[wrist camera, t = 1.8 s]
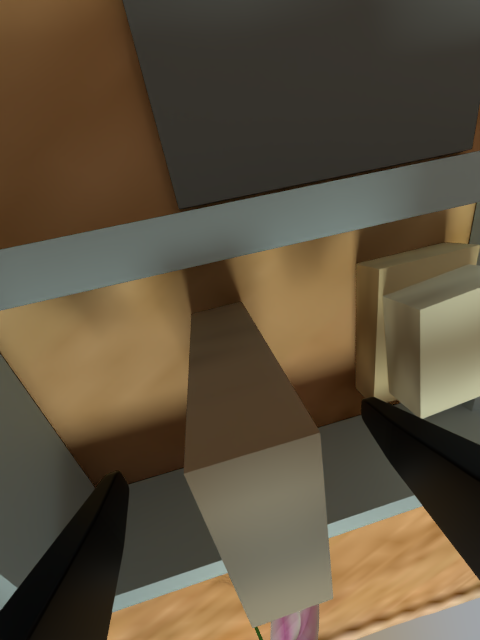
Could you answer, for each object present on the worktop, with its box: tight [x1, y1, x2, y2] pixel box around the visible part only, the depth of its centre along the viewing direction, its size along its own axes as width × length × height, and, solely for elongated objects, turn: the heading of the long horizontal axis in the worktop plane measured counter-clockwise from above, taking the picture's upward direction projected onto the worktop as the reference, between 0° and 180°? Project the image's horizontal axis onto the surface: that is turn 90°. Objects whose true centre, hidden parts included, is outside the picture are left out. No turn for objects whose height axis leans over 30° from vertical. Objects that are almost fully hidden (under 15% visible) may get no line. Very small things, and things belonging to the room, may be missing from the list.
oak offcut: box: [356, 242, 480, 402], centre depth 13 cm, size 8×5×2 cm, turn 11°
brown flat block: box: [184, 302, 333, 628], centre depth 9 cm, size 7×2×8 cm, turn 11°
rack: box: [0, 151, 480, 612], centre depth 11 cm, size 15×26×5 cm, turn 101°
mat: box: [123, 0, 480, 209], centre depth 8 cm, size 9×13×1 cm
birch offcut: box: [383, 264, 480, 419], centre depth 11 cm, size 6×4×2 cm
